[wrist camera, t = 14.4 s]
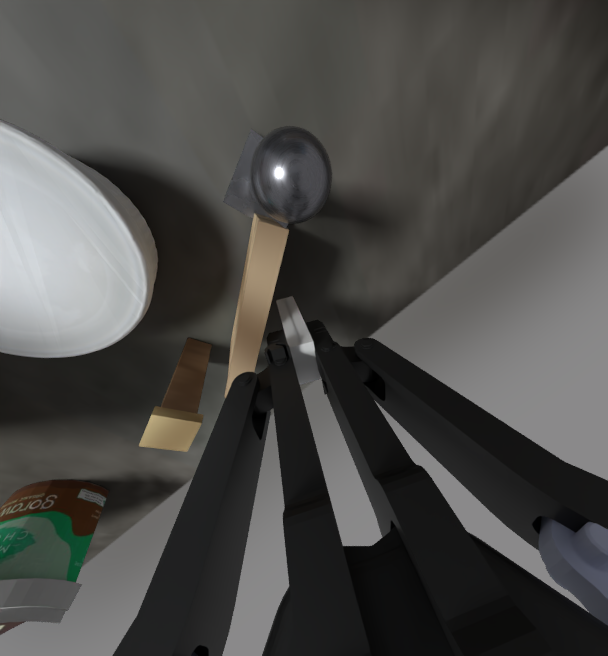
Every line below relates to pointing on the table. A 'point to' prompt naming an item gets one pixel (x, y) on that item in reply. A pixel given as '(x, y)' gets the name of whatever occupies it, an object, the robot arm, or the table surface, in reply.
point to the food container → (45, 548)
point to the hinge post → (281, 176)
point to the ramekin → (67, 253)
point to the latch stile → (180, 402)
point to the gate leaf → (255, 294)
